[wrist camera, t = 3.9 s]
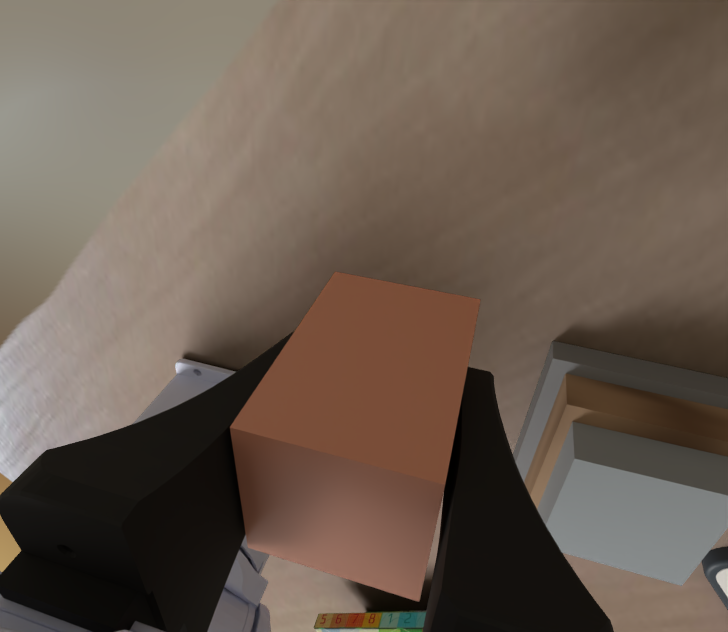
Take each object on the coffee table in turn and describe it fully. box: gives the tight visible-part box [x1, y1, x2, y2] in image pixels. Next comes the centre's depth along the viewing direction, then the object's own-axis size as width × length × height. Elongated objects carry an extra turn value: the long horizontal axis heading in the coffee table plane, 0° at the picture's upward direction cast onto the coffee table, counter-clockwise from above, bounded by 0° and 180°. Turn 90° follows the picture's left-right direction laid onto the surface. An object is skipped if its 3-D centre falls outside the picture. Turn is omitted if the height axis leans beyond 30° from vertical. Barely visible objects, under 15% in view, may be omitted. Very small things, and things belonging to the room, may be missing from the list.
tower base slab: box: [513, 341, 728, 481], centre depth 25 cm, size 9×9×2 cm
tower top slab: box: [538, 421, 728, 586], centre depth 22 cm, size 6×6×2 cm
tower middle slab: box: [524, 373, 728, 510], centre depth 23 cm, size 8×8×2 cm
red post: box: [230, 272, 481, 602], centre depth 13 cm, size 4×4×6 cm
